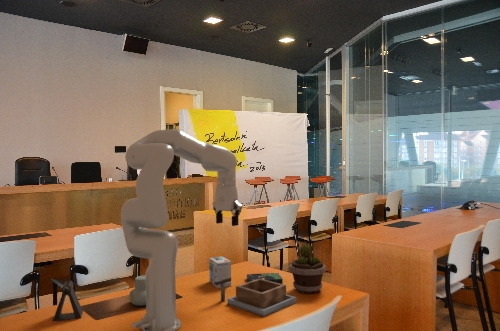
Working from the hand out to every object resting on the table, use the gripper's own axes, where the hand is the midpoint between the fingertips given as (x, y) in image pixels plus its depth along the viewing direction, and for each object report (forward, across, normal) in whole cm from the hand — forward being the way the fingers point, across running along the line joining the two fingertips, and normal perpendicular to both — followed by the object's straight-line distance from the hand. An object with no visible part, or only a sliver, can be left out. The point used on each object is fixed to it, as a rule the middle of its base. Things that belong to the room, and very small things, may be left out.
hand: (227, 224), depth 168 cm
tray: (+28, +20, -1) cm, 34 cm away
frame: (+27, +20, -1) cm, 34 cm away
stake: (+28, +8, -9) cm, 30 cm away
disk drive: (+28, +2, +20) cm, 35 cm away
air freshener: (+28, -13, -32) cm, 44 cm away
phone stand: (+28, -20, -57) cm, 67 cm away
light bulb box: (+28, -10, +4) cm, 30 cm away
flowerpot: (+28, +24, +23) cm, 43 cm away
